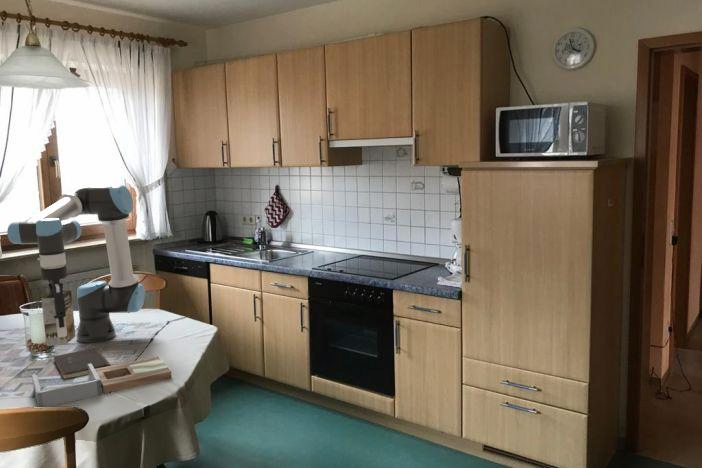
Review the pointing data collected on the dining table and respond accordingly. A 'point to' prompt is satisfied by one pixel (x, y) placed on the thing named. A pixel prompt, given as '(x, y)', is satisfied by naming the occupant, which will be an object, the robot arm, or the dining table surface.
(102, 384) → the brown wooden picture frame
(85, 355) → the hardcover book
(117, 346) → the dining table surface
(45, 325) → the coffee box
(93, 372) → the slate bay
